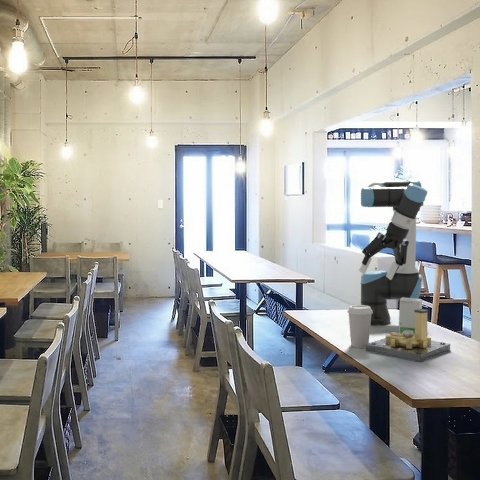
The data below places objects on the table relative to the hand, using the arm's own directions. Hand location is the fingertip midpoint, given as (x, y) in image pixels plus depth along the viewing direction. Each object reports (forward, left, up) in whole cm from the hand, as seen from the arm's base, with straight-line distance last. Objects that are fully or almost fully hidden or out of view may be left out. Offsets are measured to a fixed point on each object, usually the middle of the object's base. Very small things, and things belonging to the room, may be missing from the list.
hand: (375, 275), depth 220 cm
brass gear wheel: (-3, +12, -24) cm, 28 cm away
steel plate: (-3, +12, -27) cm, 30 cm away
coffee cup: (+3, -5, -27) cm, 28 cm away
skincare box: (-24, +1, -27) cm, 37 cm away
